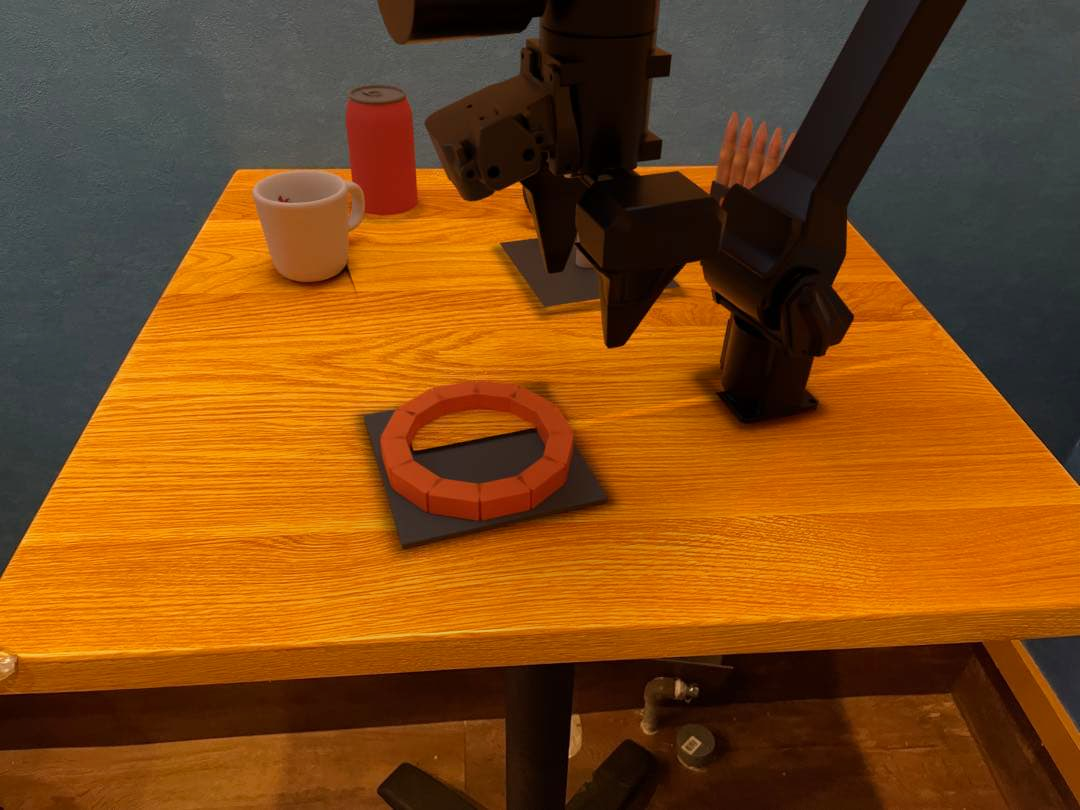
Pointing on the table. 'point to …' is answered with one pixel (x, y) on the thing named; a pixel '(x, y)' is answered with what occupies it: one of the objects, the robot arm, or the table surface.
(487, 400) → the ring
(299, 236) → the cup
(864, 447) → the table surface
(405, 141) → the beer can
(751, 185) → the ammunition clip
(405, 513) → the mat
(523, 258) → the stake
